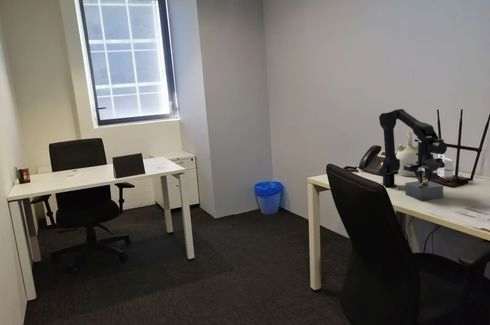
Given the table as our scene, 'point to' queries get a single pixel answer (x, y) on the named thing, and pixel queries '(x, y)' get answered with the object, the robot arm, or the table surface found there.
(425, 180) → the plunger
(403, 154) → the jug
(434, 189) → the block
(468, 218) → the table surface
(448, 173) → the ink cartridge box
